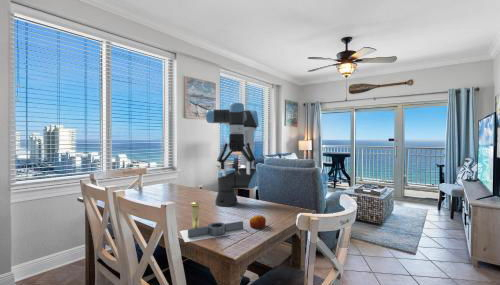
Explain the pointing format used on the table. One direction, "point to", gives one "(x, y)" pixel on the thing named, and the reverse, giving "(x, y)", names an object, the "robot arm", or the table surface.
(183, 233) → the board
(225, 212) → the table surface
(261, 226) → the fruit
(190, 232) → the gray bar with ring
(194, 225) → the pin
